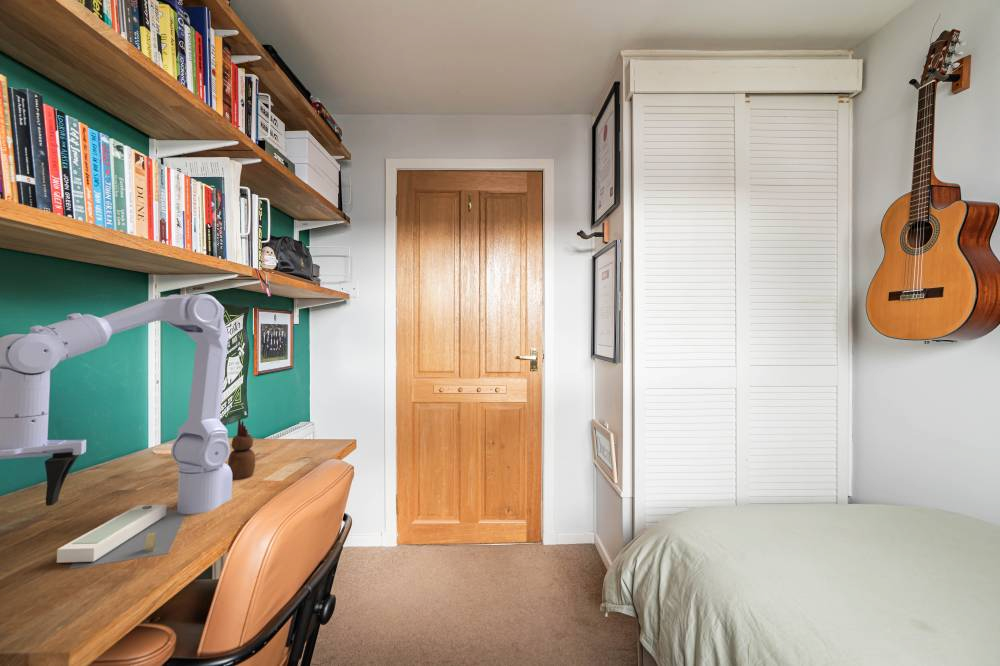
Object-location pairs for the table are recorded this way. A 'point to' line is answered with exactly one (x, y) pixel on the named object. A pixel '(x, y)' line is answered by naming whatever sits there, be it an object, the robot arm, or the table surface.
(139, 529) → the frame
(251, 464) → the wooden figurine
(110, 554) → the board
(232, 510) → the table surface
